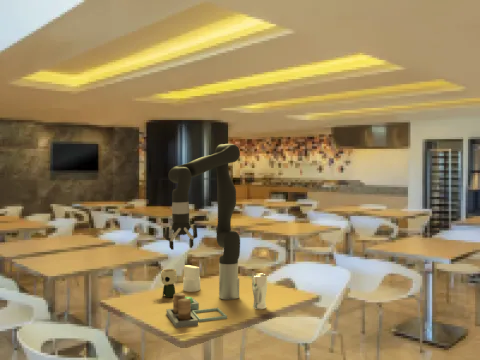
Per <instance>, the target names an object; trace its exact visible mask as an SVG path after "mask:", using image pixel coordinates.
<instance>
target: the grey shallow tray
mask: <svg viewBox="0 0 480 360" xmlns="http://www.w3.org/2000/svg"><path fill="white" fill-rule="evenodd" d="M165 312H166V314H165V315H166V316H167V317H168V318H169V320H170V321H171V322H172V324H173V326H174V327H175V329H176V328H185V327H193V326H199V321H198V319H197V318H196V317H195V316H194V315H193V313H192V311H191V320H184V321H179V319H178V314H173V308H167V309H166V311H165Z"/></svg>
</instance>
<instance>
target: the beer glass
mask: <svg viewBox="0 0 480 360" xmlns="http://www.w3.org/2000/svg"><path fill="white" fill-rule="evenodd" d="M251 280H252V281H251V287H252V294H253V304H252V308H253V309H255V310H265V309H266V308H267V303H266V299H267V298H266V297H267V291H268V274H266V273H260V272H259V273H253V274H252V278H251Z"/></svg>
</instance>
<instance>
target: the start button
mask: <svg viewBox="0 0 480 360" xmlns="http://www.w3.org/2000/svg"><path fill="white" fill-rule="evenodd" d="M185 299H190V303H193V297H192V296H185Z"/></svg>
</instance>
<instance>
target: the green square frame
mask: <svg viewBox="0 0 480 360" xmlns="http://www.w3.org/2000/svg"><path fill="white" fill-rule="evenodd" d="M191 312H192V313H193V315H194V316H195V317H196V318H197V319H198V323H201V322H209V321H210V322H211V321H217V320H226V319H228V315H227V314H226V313H224V312H223V310H221V309H220V308H219V307H213V308H205V309H199V310H193V311H191ZM208 312H218V313H219V314H220V315H221V316H214V317H213V316H211V317H203V318H200V316H199V315H198V314H199V313H208Z"/></svg>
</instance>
